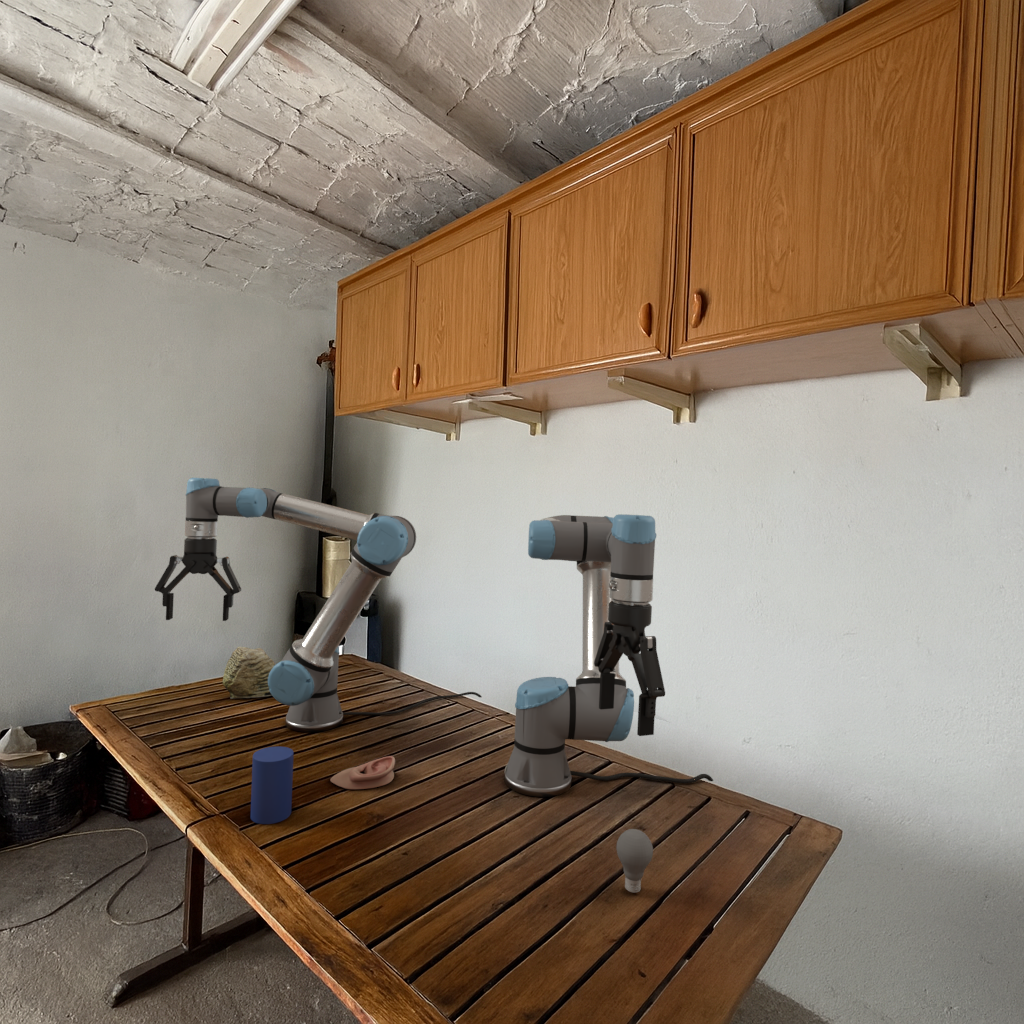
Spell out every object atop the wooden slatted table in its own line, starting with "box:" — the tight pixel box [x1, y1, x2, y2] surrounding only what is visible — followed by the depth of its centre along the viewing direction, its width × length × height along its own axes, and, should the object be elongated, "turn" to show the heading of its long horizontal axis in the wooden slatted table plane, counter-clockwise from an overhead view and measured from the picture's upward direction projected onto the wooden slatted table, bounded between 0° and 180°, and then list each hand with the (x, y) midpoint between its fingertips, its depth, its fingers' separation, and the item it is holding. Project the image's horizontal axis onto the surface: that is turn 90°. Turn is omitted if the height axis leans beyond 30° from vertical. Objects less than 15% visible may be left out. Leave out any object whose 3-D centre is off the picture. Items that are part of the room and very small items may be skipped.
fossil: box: [222, 646, 276, 699], centre depth 198 cm, size 9×18×15 cm, turn 132°
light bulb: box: [615, 828, 654, 894], centre depth 106 cm, size 6×6×10 cm
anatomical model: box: [330, 755, 396, 790], centre depth 143 cm, size 13×4×12 cm
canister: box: [250, 745, 295, 825], centre depth 125 cm, size 8×8×12 cm
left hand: (197, 619), depth 164 cm, fingers open, 13 cm apart
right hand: (624, 721), depth 112 cm, fingers open, 13 cm apart
